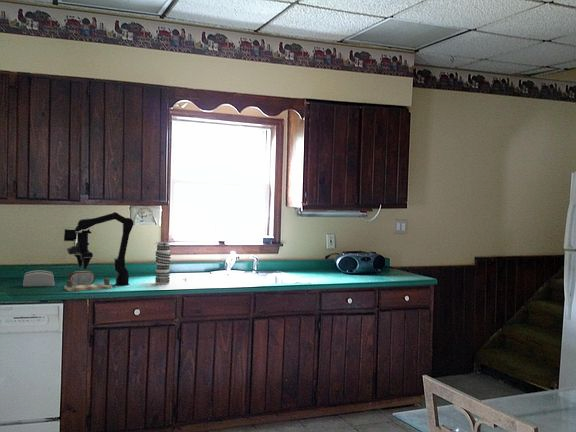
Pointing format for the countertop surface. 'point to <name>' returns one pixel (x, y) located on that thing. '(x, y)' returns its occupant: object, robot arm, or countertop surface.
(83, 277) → the tin
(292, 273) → the countertop surface
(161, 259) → the decorative candle
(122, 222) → the robot arm
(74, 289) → the tan long piece
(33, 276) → the grey arched block
